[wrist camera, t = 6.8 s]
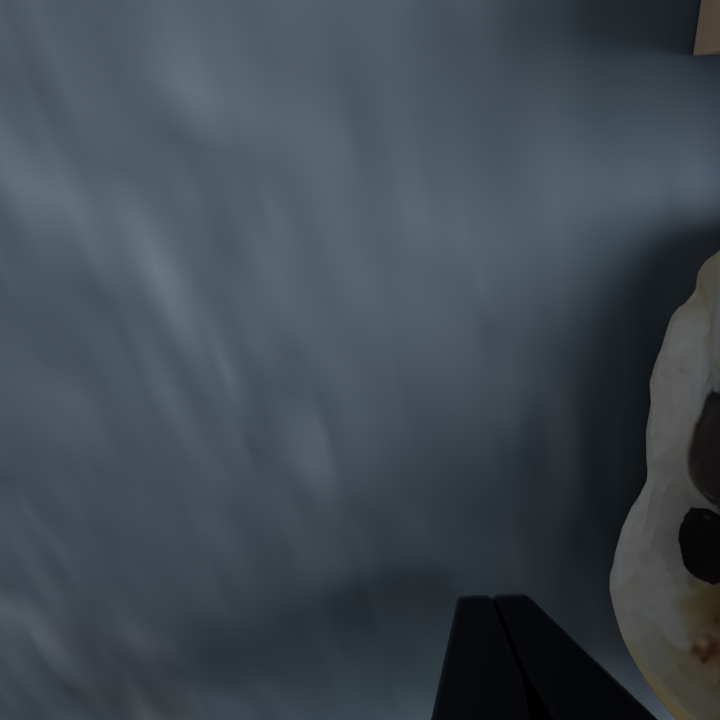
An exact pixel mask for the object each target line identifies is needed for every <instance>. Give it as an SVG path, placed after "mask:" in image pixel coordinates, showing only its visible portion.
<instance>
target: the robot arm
mask: <svg viewBox="0 0 720 720" xmlns="http://www.w3.org/2000/svg"><path fill="white" fill-rule="evenodd" d="M431 720H657V719H656V718H655V717H654V716H653V715H652V714H651V713H650V712H649V711H648V710H647V709H646V708H645V707H644V706H643V705H642V704H641V703H640V702H639V701H637V700H636V699H635V698H634V697H633V696H632V695H631V694H630V693H629V692H628V691H627V690H626V689H625V688H624V687H623V686H622V685H621V684H620V683H619V682H618V681H617V680H616V679H614V678H613V677H612V676H611V675H610V674H609V673H608V672H607V671H606V670H605V669H604V668H603V667H602V666H601V665H600V664H599V663H598V662H597V661H596V660H595V659H594V658H592V657H591V656H590V655H589V654H588V653H587V652H586V651H585V650H584V649H583V648H582V647H581V646H580V645H579V644H578V643H577V642H576V641H575V640H574V639H573V638H572V637H571V636H569V635H568V634H567V633H566V632H565V631H564V630H563V629H562V628H561V627H560V626H559V625H558V624H557V623H556V622H555V621H554V620H553V619H552V618H551V617H550V616H549V615H548V614H546V613H545V612H544V611H543V610H542V609H541V608H540V607H539V606H538V605H537V604H536V603H535V602H534V601H533V600H532V599H531V598H530V597H528V596H527V595H525V594H498V595H495V596H494V597H493V598H491V597H489V596H488V595H472V596H461V597H459V598H458V600H457V603H456V607H455V612H454V617H453V621H452V626H451V630H450V635H449V640H448V644H447V649H446V653H445V658H444V662H443V667H442V672H441V676H440V681H439V685H438V690H437V695H436V699H435V704H434V708H433V713H432V718H431Z"/></svg>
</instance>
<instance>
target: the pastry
mask: <svg viewBox="0 0 720 720" xmlns="http://www.w3.org/2000/svg"><path fill="white" fill-rule="evenodd" d="M650 395H651V406H650V412H649V417H648V423H647V428H646V461H647V469H648V471H647V481H646V483H645V485H644V487H643V489H642V492H641V494H640V495H639V497H638V498H637V500H636V502H635V503H634V504H633V506H632V507H631V509H630V512H629V514H628V516H627V518H626V521H625V523H624V525H623V527H622V530H621V534H620V537H619V541H618V544H617V548H616V552H615V557H614V563H613V567H612V570H611V574H610V594H611V599H612V604H613V608H614V612H615V615H616V619H617V623H618V626H619V628H620V631H621V634H622V637H623V639H624V642H625V644H626V646H627V648H628V650H629V652H630V654H631V656H632V658H633V660H634V662H635V663H636V665H637V666H638V668H639V670H640V671H641V673H642V674H643V676H644V678H645V679H646V681H647V682H648V684H649V685H650V687H651V688H652V690H653V691H654V693H655V694H656V695H657V697H658V698H659V700H660V701H661V702H662V703H663V705H664V706H665V707H666V708H667V710H668V711H669V712H670V713H671V715H672V716H673V717H674V718H675V719H677V720H720V250H719V251H718V252H717V253H715V254H714V255H713V256H711V257H710V258H709V259H708V260H707V261H706V262H705V263H704V264H703V265H702V267H701V268H700V270H699V272H698V275H697V283H696V289H695V291H694V293H693V294H692V296H691V297H690V298H689V299H688V300H687V302H686V303H685V304H683V305H682V306H680V307H678V308H677V310H676V311H675V312H674V314H673V315H672V316H671V319H670V321H669V325H668V328H667V331H666V334H665V337H664V341H663V344H662V347H661V350H660V352H659V355H658V357H657V360H656V362H655V365H654V368H653V372H652V376H651V379H650Z"/></svg>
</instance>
